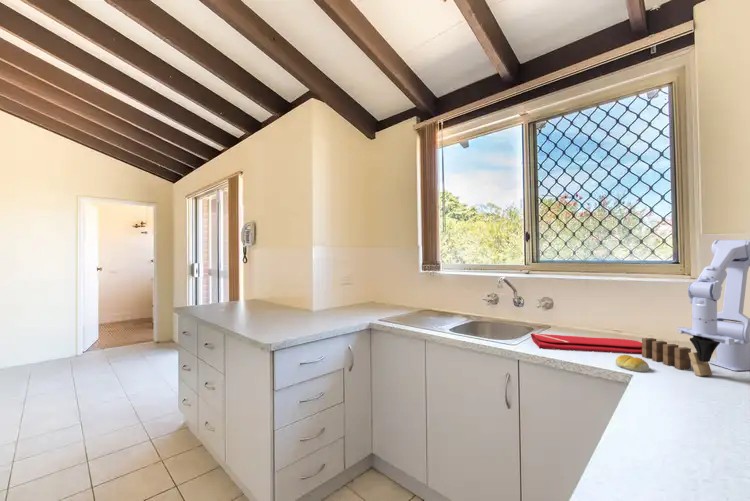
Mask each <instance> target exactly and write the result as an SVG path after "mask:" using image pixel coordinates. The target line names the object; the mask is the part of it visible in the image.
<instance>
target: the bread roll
mask: <svg viewBox="0 0 750 501" xmlns="http://www.w3.org/2000/svg"><path fill="white" fill-rule="evenodd" d="M615 365H616V366H617V367H619V368H621V369H625V370H626V371H630V372H631V371H632V372H639V373H642V372H643V373H644V372H648V371H649V369H650V366H649V364H648V362H647V361H646V360H644V359H642V358H639V357H634V356H632V355H629V354H626V355H625V354H623V355H619V356H617V357H616V359H615Z"/></svg>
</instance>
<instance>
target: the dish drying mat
mask: <svg viewBox="0 0 750 501" xmlns="http://www.w3.org/2000/svg"><path fill="white" fill-rule="evenodd" d="M530 337H531V340H532V342H533V343H534V344H535V345H536V346H537V347H538V349H541V348H542V349H541V350H543V349H544V350H556V349H560V350H559V351H573V350H575V351H577V352H580V351H581V352H592V351H594V352H595V353H596V352H597V353H610V352H612V354H613V353H614V354H633V355H634V354H635V355H642V341H639V340H634V339H624V338H614V337H613V338H610V337H588V336H587V337H586V336H575V335H560V334H549V333H548V334H547V333H543V334H542V333H537V332H535V333H534V332H533V333H532V332H531V333H530Z"/></svg>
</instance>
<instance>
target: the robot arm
mask: <svg viewBox="0 0 750 501" xmlns="http://www.w3.org/2000/svg"><path fill="white" fill-rule="evenodd" d="M710 249H711V254H712V256H713V257H712V260H711V263H710V265H707V266H705V267H704V268H703V269H702V271H701V272H700V274H699V276H698V278H697V279H696V281H692V282H690V283H689V284H688V287H687V295H688V297H689V303H690V304H691V328H690V327H684V326H683V327H682V326H681V327H680V326H679V327H678V329H677V332H678V334H683V335H688V336H692V337H690V338H689V341H690V342H691V344H692V345H693V347H694V348H695V352H697V353H698V356H699V359H700V361H703V362H708V363H709V364H710V365H715V366H718V367H721V368H723V369H724V368H725V369H728V370H730V371H731V370H732V371H735V372H738V371H739V372H740V371H750V317H748V316H747V315H746V314H744V307H745V305H744V304H745V297H746V288H747V279H748V272H749V269H750V238H749V239H722V240H720V239H716V240H714V241H713V242H712V244H711V248H710ZM726 270H727V271H726ZM724 282H725V288H724V293H723V294H724V295H723V303H722V304H723V305H722V310H721V311H719V312H718V301H719V300H720V298H722V297H721V296H722V291H723V286H722V285H723V284H724ZM714 351H715V353H716V354H715V355H716V360H713V361H711V359H712V356H713V354H714Z"/></svg>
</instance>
